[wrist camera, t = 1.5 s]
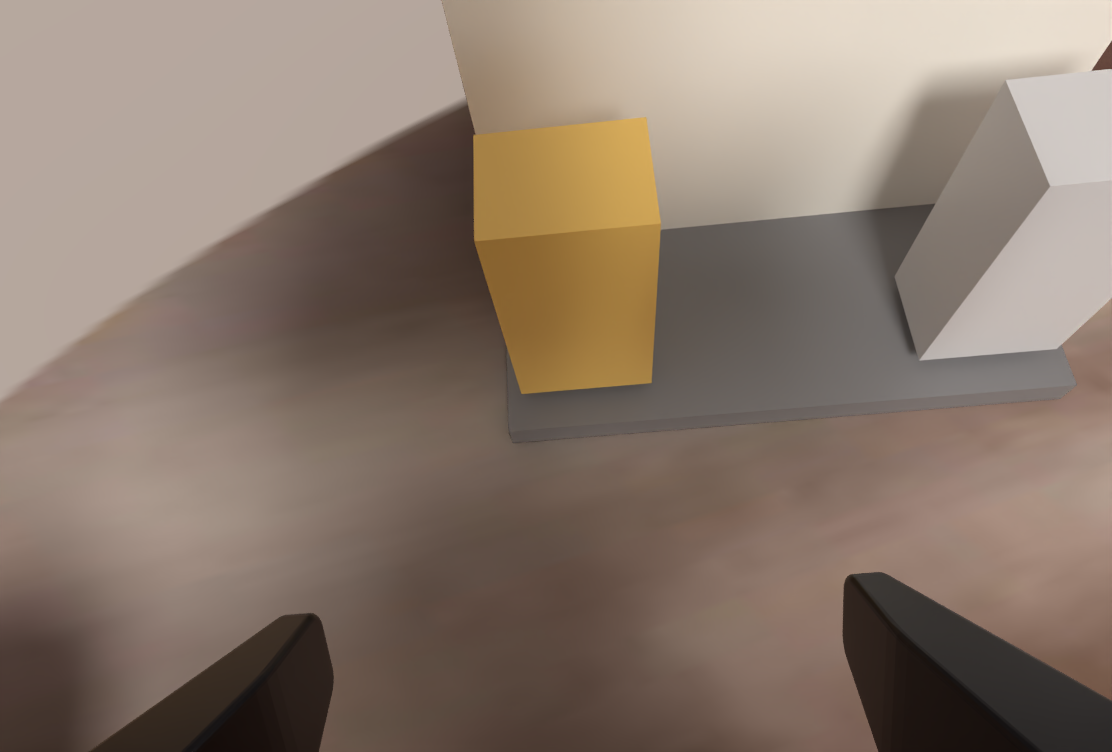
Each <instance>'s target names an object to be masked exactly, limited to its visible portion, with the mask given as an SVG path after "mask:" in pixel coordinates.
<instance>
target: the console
mask: <svg viewBox="0 0 1112 752" xmlns="http://www.w3.org/2000/svg"><path fill="white" fill-rule="evenodd" d="M442 4H443V8H444V12H445V16H446V20H447V24H448V27H449V32H450V36H451V39H452V44H453V48H454V52H455V55H456V59H457V63H458V67H459V71H460V75H461V79H462V83H463V87H464V91H465V95H466V99H467V103H468V107H469V111H470V115H471V119H472V123H473V127H474V130H475V134H476V135H478V134H487V133H497V132H507V131H516V130H526V129H536V128H545V127H555V126H565V125H575V124H584V123H594V122H604V121H613V120H623V119H633V118H642V117H646V119H647V126H648V133H649V140H650V148H651V155H652V162H653V169H654V177H655V184H656V191H657V198H658V206H659V213H660V220H661V232H660V248H659V265H658V282H657V299H656V316H655V333H654V350H653V366H652V383H647V384H635V385H623V386H611V387H600V388H588V389H576V390H564V391H552V392H540V393H528V394H521V391H520V388H519V384H518V381H517V378H516V375H515V371H514V368H513V365H512V362H511V359H510V355H509V352H508V349H507V346H506V356H507V392H508V429H509V434H510V436H511V439H512V442H513V443H518V442H530V441H543V440H555V439H567V438H580V437H592V436H605V435H617V434H629V433H642V432H654V431H667V430H679V429H691V428H704V427H716V426H729V425H741V424H753V423H766V422H778V421H791V420H803V419H815V418H828V417H840V416H853V415H865V414H877V413H890V412H902V411H915V410H927V409H939V408H952V407H964V406H977V405H989V404H1001V403H1014V402H1026V401H1039V400H1051V399H1060V398H1062V397H1063V396H1064V395H1065V394H1067V393H1068V392H1069V391H1070V390H1072V389H1073V388H1074V387H1075V386H1077V384H1076V381H1075V379H1074V376H1073V374H1072V371H1071V368H1070V366H1069V363H1068V361H1067V358H1066V355H1065V353H1064V350H1063V348H1062V345H1060V346H1059V347H1058V348H1057V349H1051V350H1039V351H1027V352H1015V353H1004V354H992V355H980V356H968V357H956V358H944V359H932V360H920V361H919V359H918V355H917V352H916V349H915V345H914V342H913V338H912V335H911V331H910V328H909V324H908V321H907V318H906V314H905V311H904V307H903V304H902V300H901V297H900V293H899V290H898V287H897V283H896V280H895V275H896V273H897V271H898V269H899V267H900V266H901V264H902V262H903V260H904V259H905V257H906V255H907V253H908V252H909V250H910V248H911V246H912V244H913V243H914V241H915V239H916V237H917V236H918V234H919V232H920V230H921V229H922V227H923V225H924V223H925V221H926V220H927V218H928V216H929V214H930V213H931V211H932V209H933V207H934V206H935V204H936V202H937V200H938V198H939V197H940V195H941V193H942V191H943V190H944V188H945V186H946V184H947V183H948V181H949V179H950V177H951V175H952V174H953V172H954V170H955V168H956V167H957V165H958V163H959V161H960V160H961V158H962V156H963V154H964V152H965V151H966V149H967V147H968V145H969V144H970V142H971V140H972V138H973V137H974V135H975V133H976V131H977V129H978V128H979V126H980V124H981V122H982V121H983V119H984V117H985V115H986V114H987V112H988V110H989V108H990V107H991V105H992V103H993V101H994V99H995V98H996V96H997V94H998V92H999V91H1000V89H1001V87H1002V85H1003V84H1004V82H1005V80H1010V79H1020V78H1029V77H1039V76H1049V75H1058V74H1068V73H1078V72H1087V71H1091V70H1092V68H1093V67H1094V66H1095V64H1096V63H1097V61H1098V60H1099V58H1100V57H1101V55H1102V54H1103V52H1104V51H1105V49H1106V48H1107V47H1108V45H1109V44H1110V42H1111V41H1112V0H442Z"/></svg>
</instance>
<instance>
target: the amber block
mask: <svg viewBox="0 0 1112 752" xmlns="http://www.w3.org/2000/svg"><path fill="white" fill-rule="evenodd" d="M473 149H474V242H475V246H476V249H477V252H478V255H479V259H480V262H481V265H482V268H483V272H484V275H485V278H486V281H487V284H488V288H489V291H490V294H491V297H492V301H493V304H494V307H495V310H496V313H497V317H498V320H499V323H500V326H501V330H502V333H503V336H504V339H505V342H506V346H507V349H508V352H509V355H510V359H511V362H512V365H513V368H514V371H515V375H516V378H517V381H518V384H519V388H520V391H521V394H528V393H540V392H552V391H564V390H576V389H588V388H600V387H611V386H623V385H635V384H647V383H652V366H653V350H654V333H655V316H656V299H657V282H658V265H659V248H660V232H661V220H660V213H659V206H658V198H657V191H656V184H655V177H654V169H653V162H652V155H651V148H650V140H649V133H648V126H647V119H646V117H642V118H633V119H623V120H613V121H604V122H594V123H584V124H575V125H565V126H555V127H545V128H536V129H526V130H516V131H507V132H497V133H487V134H478V135H473Z"/></svg>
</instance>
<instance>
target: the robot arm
mask: <svg viewBox="0 0 1112 752" xmlns="http://www.w3.org/2000/svg"><path fill="white" fill-rule="evenodd" d="M843 644H844V649H845V654H846V657H847V660H848V663H849V666H850V669H851V672H852V675H853V678H854V681H855V684H856V687H857V690H858V693H859V696H860V699H861V702H862V705H863V708H864V711H865V714H866V717H867V719H868V722H869V725H870V728H871V731H872V734H873V737H874V740H875V743H876V746H877V749H878V752H1112V700H1110V699H1108V698H1106V697H1104V696H1103V695H1101V694H1099V693H1097V692H1096V691H1094V690H1092V689H1090V688H1088V687H1087V686H1085V685H1083V684H1081V683H1080V682H1078V681H1076V680H1074V679H1072V678H1071V677H1069V676H1067V675H1065V674H1064V673H1062V672H1060V671H1058V670H1056V669H1055V668H1053V667H1051V666H1049V665H1047V664H1046V663H1044V662H1042V661H1040V660H1039V659H1037V658H1035V657H1033V656H1031V655H1030V654H1028V653H1026V652H1024V651H1023V650H1021V649H1019V648H1017V647H1015V646H1014V645H1012V644H1010V643H1008V642H1007V641H1005V640H1003V639H1001V638H999V637H998V636H996V635H994V634H992V633H991V632H989V631H987V630H985V629H983V628H982V627H980V626H978V625H976V624H975V623H973V622H971V621H969V620H967V619H966V618H964V617H962V616H960V615H959V614H957V613H955V612H953V611H951V610H950V609H948V608H946V607H944V606H943V605H941V604H939V603H937V602H935V601H934V600H932V599H930V598H928V597H927V596H925V595H923V594H921V593H919V592H918V591H916V590H914V589H912V588H911V587H909V586H907V585H905V584H903V583H902V582H900V581H898V580H896V579H894V578H893V577H891V576H889V575H887V574H885V573H882V572H874V573H861V574H851V575H849V576H848V577H847V578H846V580H845V583H844V597H843ZM333 679H334V676H333V668H332V663H331V659H330V655H329V651H328V647H327V642H326V638H325V634H324V630H323V625H322V622H321V620H320V618H319V617H318V616H317V615H315V614H314V613H306V614H291V615H284V616H281V617H279V618H278V619H276V620H275V621H274V622H272V623H271V624H269V625H268V626H267V627H265V628H264V629H262V630H261V631H259V632H258V633H257V634H255V635H254V636H252V637H251V638H249V639H248V640H247V641H245V642H244V643H242V644H241V645H240V646H238V647H237V648H235V649H234V650H232V651H231V652H230V653H228V654H227V655H225V656H224V657H223V658H221V659H220V660H218V661H217V662H215V663H214V664H213V665H211V666H210V667H208V668H207V669H205V670H204V671H203V672H201V673H200V674H198V675H197V676H196V677H194V678H193V679H191V680H190V681H188V682H187V683H186V684H184V685H183V686H181V687H180V688H179V689H177V690H176V691H174V692H173V693H171V694H170V695H169V696H167V697H166V698H164V699H163V700H161V701H160V702H159V703H157V704H156V705H154V706H153V707H152V708H150V709H149V710H147V711H146V712H144V713H143V714H142V715H140V716H139V717H137V718H136V719H135V720H133V721H132V722H130V723H129V724H127V725H126V726H125V727H123V728H122V729H120V730H119V731H118V732H116V733H115V734H113V735H112V736H110V737H109V738H108V739H106V740H105V741H103V742H102V743H100V744H99V745H98V746H96V747H95V748H93V749H92V750H91V751H89V752H319V748H320V744H321V739H322V735H323V731H324V726H325V722H326V717H327V713H328V708H329V704H330V700H331V695H332V690H333Z"/></svg>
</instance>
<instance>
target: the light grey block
mask: <svg viewBox="0 0 1112 752" xmlns="http://www.w3.org/2000/svg"><path fill="white" fill-rule="evenodd" d="M895 280H896V283H897V287H898V290H899V293H900V297H901V300H902V304H903V307H904V311H905V314H906V318H907V321H908V324H909V328H910V331H911V335H912V338H913V342H914V345H915V349H916V352H917V355H918V359H919V361H920V360H932V359H944V358H956V357H968V356H980V355H992V354H1004V353H1015V352H1027V351H1039V350H1051V349H1057V348H1058V347H1059V346H1060V345H1062V344H1063V343H1064V342H1065V341H1066V340H1067V339H1068V338H1069V337H1070V336H1071V335H1072V334H1073V333H1074V332H1076V331H1077V330H1078V329H1079V328H1080V327H1081V326H1082V325H1083V324H1084V323H1085V322H1086V321H1087V320H1089V319H1090V318H1091V317H1092V316H1093V315H1094V314H1095V313H1096V312H1097V311H1098V310H1099V309H1100V308H1101V307H1103V306H1104V305H1105V304H1106V303H1107V302H1108V301H1109V300H1110V299H1111V298H1112V69H1107V70H1097V71H1087V72H1078V73H1068V74H1058V75H1049V76H1039V77H1029V78H1020V79H1010V80H1005V82H1004V84H1003V85H1002V87H1001V89H1000V91H999V92H998V94H997V96H996V98H995V99H994V101H993V103H992V105H991V107H990V108H989V110H988V112H987V114H986V115H985V117H984V119H983V121H982V122H981V124H980V126H979V128H978V129H977V131H976V133H975V135H974V137H973V138H972V140H971V142H970V144H969V145H968V147H967V149H966V151H965V152H964V154H963V156H962V158H961V160H960V161H959V163H958V165H957V167H956V168H955V170H954V172H953V174H952V175H951V177H950V179H949V181H948V183H947V184H946V186H945V188H944V190H943V191H942V193H941V195H940V197H939V198H938V200H937V202H936V204H935V206H934V207H933V209H932V211H931V213H930V214H929V216H928V218H927V220H926V221H925V223H924V225H923V227H922V229H921V230H920V232H919V234H918V236H917V237H916V239H915V241H914V243H913V244H912V246H911V248H910V250H909V252H908V253H907V255H906V257H905V259H904V260H903V262H902V264H901V266H900V267H899V269H898V271H897V273H896V275H895Z"/></svg>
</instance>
